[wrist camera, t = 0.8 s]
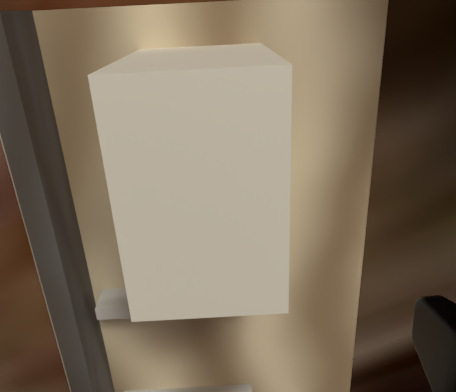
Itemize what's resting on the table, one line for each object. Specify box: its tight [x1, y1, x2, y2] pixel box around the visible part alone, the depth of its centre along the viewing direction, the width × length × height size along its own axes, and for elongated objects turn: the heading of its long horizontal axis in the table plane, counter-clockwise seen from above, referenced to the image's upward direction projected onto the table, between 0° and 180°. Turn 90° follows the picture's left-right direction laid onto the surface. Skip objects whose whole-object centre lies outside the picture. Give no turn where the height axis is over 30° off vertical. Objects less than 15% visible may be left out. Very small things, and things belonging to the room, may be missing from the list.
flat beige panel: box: [0, 0, 388, 392], centre depth 19 cm, size 14×22×4 cm, turn 3°
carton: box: [88, 43, 292, 322], centre depth 14 cm, size 5×7×7 cm, turn 3°
